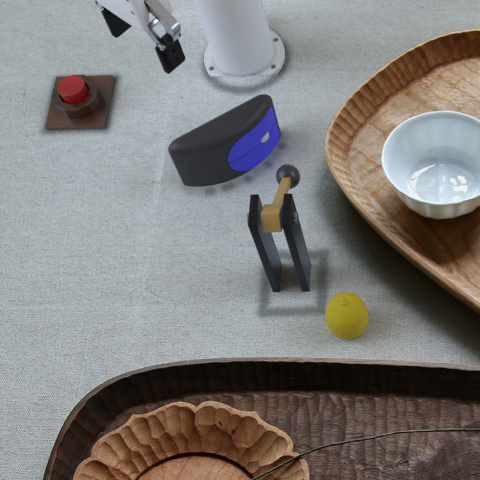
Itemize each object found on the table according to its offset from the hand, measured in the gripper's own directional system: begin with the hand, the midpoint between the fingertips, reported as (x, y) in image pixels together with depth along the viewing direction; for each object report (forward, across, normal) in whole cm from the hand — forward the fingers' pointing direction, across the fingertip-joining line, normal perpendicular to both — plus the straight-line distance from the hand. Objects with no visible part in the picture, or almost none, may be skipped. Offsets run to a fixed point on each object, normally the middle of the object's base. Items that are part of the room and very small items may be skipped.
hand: (149, 48), depth 103 cm
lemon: (+20, -38, +8) cm, 44 cm away
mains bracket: (+19, -28, +7) cm, 34 cm away
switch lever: (+9, -24, +3) cm, 26 cm away
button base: (+19, +20, +5) cm, 28 cm away
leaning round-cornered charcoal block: (+20, -7, -2) cm, 21 cm away
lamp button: (+17, +20, +5) cm, 27 cm away
